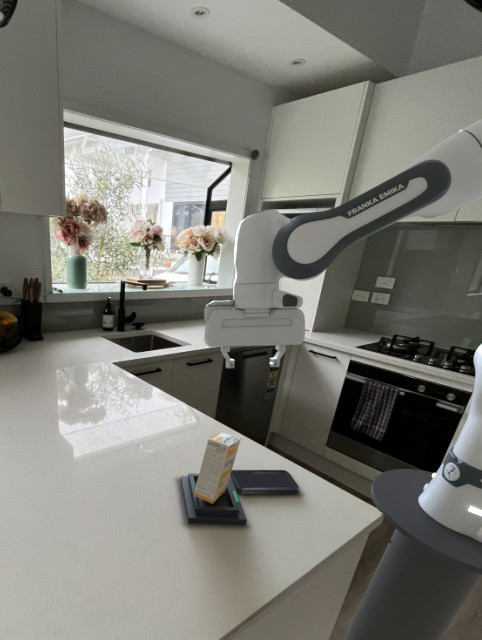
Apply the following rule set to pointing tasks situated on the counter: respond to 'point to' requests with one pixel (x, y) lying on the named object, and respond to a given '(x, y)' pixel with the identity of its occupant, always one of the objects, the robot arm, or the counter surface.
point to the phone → (263, 482)
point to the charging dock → (212, 505)
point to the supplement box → (216, 466)
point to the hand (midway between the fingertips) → (252, 367)
